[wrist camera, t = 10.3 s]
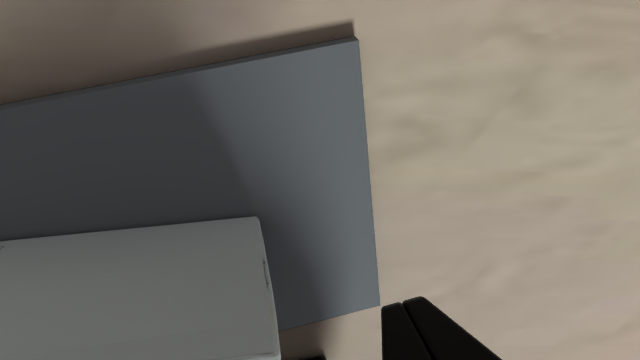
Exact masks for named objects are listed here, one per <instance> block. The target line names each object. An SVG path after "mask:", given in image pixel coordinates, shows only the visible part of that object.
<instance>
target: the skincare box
mask: <svg viewBox="0 0 640 360" xmlns="http://www.w3.org/2000/svg"><path fill="white" fill-rule="evenodd" d="M0 360H281V352H280V344H279V335H278V326H277V317H276V310H275V303H274V297H273V291H272V284H271V279H270V273H269V268H268V263H267V258H266V252H265V246H264V241H263V236H262V231H261V226H260V221H259V219H258V218H257V217H256V216H253V217H243V218H233V219H223V220H212V221H202V222H193V223H183V224H173V225H162V226H152V227H141V228H131V229H120V230H110V231H100V232H90V233H80V234H69V235H59V236H49V237H38V238H29V239H18V240H9V241H0Z"/></svg>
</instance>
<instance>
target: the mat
mask: <svg viewBox="0 0 640 360" xmlns="http://www.w3.org/2000/svg"><path fill="white" fill-rule="evenodd" d="M253 216H256V217H257V218H258V219H259V221H260V226H261V231H262V236H263V241H264V246H265V252H266V258H267V263H268V268H269V273H270V279H271V284H272V291H273V297H274V303H275V310H276V317H277V326H278V332H279V331H283V330H287V329H291V328H294V327H298V326H302V325H306V324H310V323H314V322H318V321H322V320H325V319H329V318H333V317H337V316H341V315H345V314H349V313H352V312H356V311H360V310H364V309H368V308H372V307H376V306H380V295H379V283H378V271H377V258H376V246H375V234H374V222H373V209H372V197H371V185H370V173H369V160H368V148H367V136H366V124H365V111H364V99H363V87H362V75H361V62H360V50H359V40H358V39H357V38H356V37H355V36H353V37H348V38H343V39H338V40H333V41H327V42H322V43H317V44H312V45H307V46H302V47H297V48H291V49H286V50H281V51H276V52H271V53H266V54H261V55H255V56H250V57H245V58H240V59H235V60H230V61H225V62H219V63H214V64H209V65H204V66H199V67H194V68H189V69H183V70H178V71H173V72H168V73H163V74H158V75H152V76H147V77H142V78H137V79H132V80H127V81H122V82H116V83H111V84H106V85H101V86H96V87H91V88H86V89H80V90H75V91H70V92H65V93H60V94H55V95H50V96H44V97H39V98H34V99H29V100H24V101H19V102H14V103H8V104H3V105H0V241H9V240H18V239H29V238H38V237H49V236H59V235H69V234H80V233H90V232H100V231H110V230H120V229H131V228H141V227H152V226H162V225H173V224H183V223H193V222H202V221H212V220H223V219H233V218H243V217H253Z"/></svg>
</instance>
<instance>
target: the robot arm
mask: <svg viewBox="0 0 640 360" xmlns="http://www.w3.org/2000/svg"><path fill="white" fill-rule="evenodd" d="M381 322H382V360H502V359H501V358H499V357H498V356H497V355H496V354H494V353H493V352H492V351H491V350H489V349H488V348H487V347H486V346H484V345H483V344H482V343H481V342H479V341H478V340H477V339H476V338H474V337H473V336H472V335H471V334H469V333H468V332H467V331H466V330H464V329H463V328H462V327H461V326H459V325H458V324H457V323H456V322H454V321H453V320H452V319H451V318H449V317H448V316H447V315H446V314H444V313H443V312H442V311H441V310H439V309H438V308H437V307H436V306H434V305H433V304H432V303H431V302H430V301H428V300H427V299H426V298H424V297H421V296H419V297H415V298H412V299H408V300H405V301H403V303H400V302H397V303H394V304H390V305H387V306H383V307H382V309H381ZM308 360H326V358H325V357H322V356H320V357H315V358H312V359H308Z"/></svg>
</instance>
